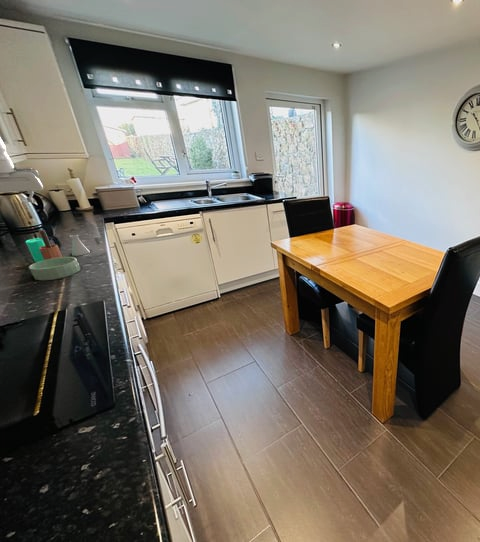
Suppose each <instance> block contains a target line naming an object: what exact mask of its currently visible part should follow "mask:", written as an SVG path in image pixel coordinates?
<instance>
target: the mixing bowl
mask: <svg viewBox="0 0 480 542" xmlns="http://www.w3.org/2000/svg"><path fill="white" fill-rule="evenodd" d="M28 270H29V271H30V273H31V275H32V278H33V279H34V280H36V281H54V280H60V279H65V278H68V277H71V276H73V275H74V274H77V273H78V272H80V271H81V265H80V264H79V261H78V259H77V257H74V256H62V257H58V258H52V259H47V260H43V261H39V262H34V263H32V264H30V265H29V266H28Z"/></svg>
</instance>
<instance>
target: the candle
mask: <svg viewBox="0 0 480 542" xmlns="http://www.w3.org/2000/svg"><path fill="white" fill-rule="evenodd" d="M25 244H26V246H27V248H28V250H29V252H30V254H31V256H32V258H33V261H34V263H36V262H39V261H43V260H44V258H43V256H42V254H41V252H40V249H39V247H42V246H45V244H44V242H43V240H42V237H36V238H35V237H34V236H33V237H32V238H30V239H27V240H25Z"/></svg>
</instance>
